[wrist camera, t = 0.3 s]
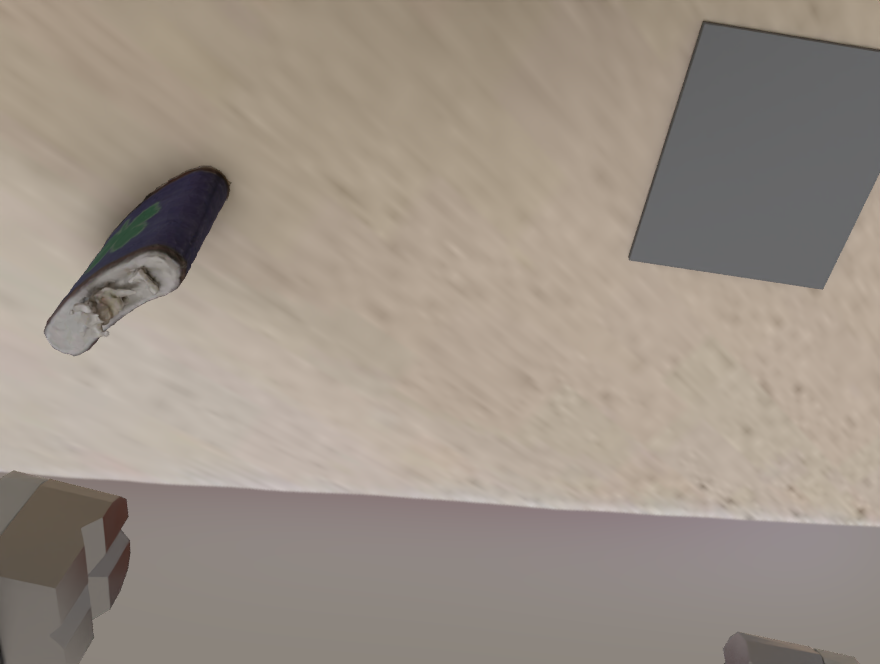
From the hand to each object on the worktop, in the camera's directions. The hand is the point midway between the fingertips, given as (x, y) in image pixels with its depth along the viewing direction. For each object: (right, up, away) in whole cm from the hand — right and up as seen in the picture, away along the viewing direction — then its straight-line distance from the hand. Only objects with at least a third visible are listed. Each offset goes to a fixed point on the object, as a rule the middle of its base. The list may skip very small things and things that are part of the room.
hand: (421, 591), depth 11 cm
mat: (+19, +13, +36) cm, 42 cm away
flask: (-16, +11, +40) cm, 44 cm away
